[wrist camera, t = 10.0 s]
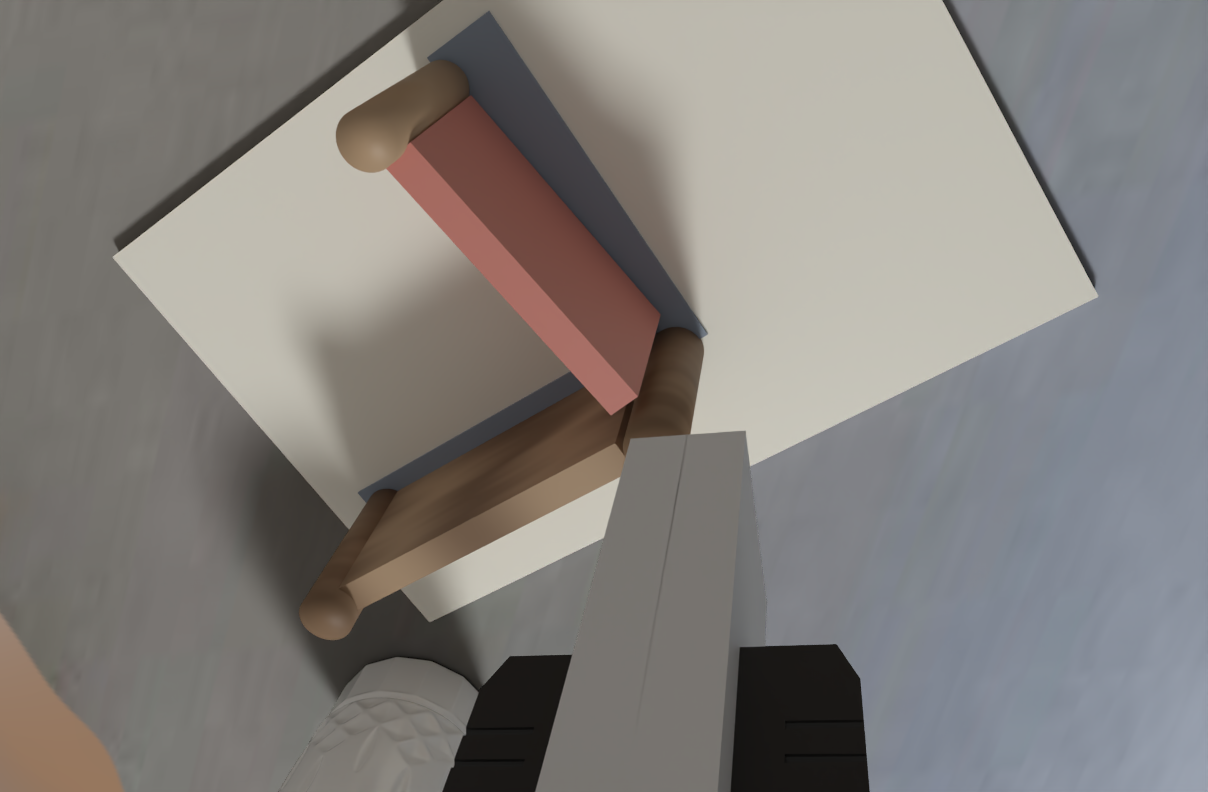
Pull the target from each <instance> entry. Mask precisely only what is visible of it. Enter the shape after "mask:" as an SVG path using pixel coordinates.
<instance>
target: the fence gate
mask: <svg viewBox="0 0 1208 792" xmlns="http://www.w3.org/2000/svg"><path fill="white" fill-rule="evenodd" d="M336 143H337V147H338V149H339V152H340V154H341V155H342V157H343V158H344V159H345V161H346V162H347V163H348V164H350V165H351V166H352V167H354V168H355V169H357V170H360V171H363V172H367V173H376V172H380V171H383V170H384V169H387V170H388V171H389V172H390V173H391V175H392V176H393V177H394V178H395V179H396V180H397V181H398V182H399V183H400V184H401V186H402V187H403V188H404V189H405V190H406V191H407V192H408V193H409V194H410V195H411V197H412V198H413V199H414V200H415V201H416V202H417V203H418V204H419V205H420V206H421V208H422V209H423V210H424V211H425V212H426V213H427V214H428V215H429V216H430V217H431V218H432V220H433V221H434V222H435V223H436V224H437V225H438V226H439V227H440V228H441V229H442V231H443V232H444V233H445V234H446V235H447V236H448V237H449V238H450V239H451V240H452V242H453V243H454V244H455V245H456V246H457V247H458V248H459V249H460V250H461V251H462V253H463V254H464V255H465V256H466V257H467V258H468V259H469V260H470V261H471V262H472V264H473V265H474V266H475V267H476V268H477V269H478V270H479V271H480V272H481V273H482V274H483V276H484V277H485V278H486V279H487V280H488V281H489V282H490V283H491V284H492V285H493V287H494V288H495V289H496V290H497V291H498V292H499V293H500V294H501V295H502V296H503V298H504V299H505V300H506V301H507V302H508V303H509V304H510V305H511V306H512V307H513V309H514V310H515V311H516V312H517V313H518V314H519V315H520V316H521V317H522V318H523V319H524V321H525V322H526V323H527V324H528V325H529V326H530V327H531V328H532V329H533V330H534V332H535V333H536V334H537V335H538V336H539V337H540V338H541V339H542V340H543V341H544V343H545V344H546V345H547V346H548V347H549V348H550V349H551V350H552V351H553V352H554V354H555V355H556V356H557V357H558V358H559V359H560V360H561V361H562V362H563V363H564V365H565V366H566V367H567V368H568V369H569V370H570V371H571V372H572V373H573V374H574V375H575V377H576V378H577V379H578V380H579V381H580V382H581V383H582V384H583V385H584V386H585V388H586V389H587V390H588V391H589V392H590V393H591V394H592V395H593V396H594V397H595V399H596V400H597V401H598V402H599V403H600V404H601V405H602V406H603V407H604V408H605V410H606V411H607V412H608V413H609V414H610V415H612V414H614V413H615V412H617V411H618V410H619V409H621V408H622V407H624V406H625V405H627V404H628V403H630V402H631V401H632V400H634V399H635V398H637V397H638V395H639V391H640V388H641V384H642V381H643V377H644V373H645V370H646V366H647V362H648V359H649V355H650V352H651V348H652V344H653V341H654V337H655V333H656V330H657V326H658V323H659V319H660V315H661V314H660V313H659V312H658V311H657V310H656V309H655V307H654V306H653V305H652V304H651V303H650V302H649V300H648V299H647V298H646V297H645V296H644V295H643V293H642V292H641V291H640V290H639V289H638V288H637V287H636V285H635V284H634V283H633V282H632V281H631V280H630V278H629V277H628V276H627V275H626V274H625V273H624V271H623V270H622V269H621V268H620V267H619V266H618V265H617V263H616V262H615V261H614V260H613V259H612V258H611V256H610V255H609V254H608V253H607V252H606V251H605V249H604V248H603V247H602V246H601V245H600V244H599V243H598V241H597V240H596V239H595V238H594V237H593V236H592V234H591V233H590V232H589V231H588V230H587V229H586V227H585V226H584V225H583V224H582V223H581V222H580V221H579V219H578V218H577V217H576V216H575V215H574V214H573V212H572V211H571V210H570V209H569V208H568V207H567V205H566V204H565V203H564V202H563V201H562V200H561V199H560V197H559V196H558V195H557V194H556V193H555V192H554V190H553V189H552V188H551V187H550V186H549V185H548V183H547V182H546V181H545V180H544V179H543V178H542V177H541V175H540V174H539V173H538V172H537V171H536V170H535V168H534V167H533V166H532V165H531V164H530V163H529V161H528V160H527V159H526V158H525V157H524V156H523V155H522V153H521V152H520V151H519V150H518V149H517V148H516V146H515V145H514V144H513V143H512V142H511V141H510V139H509V138H508V137H507V136H506V135H505V134H504V133H503V131H502V130H501V129H500V128H499V127H498V126H497V124H496V123H495V122H494V121H493V120H492V119H491V117H490V116H489V115H488V114H487V113H486V112H485V111H484V109H483V108H482V107H481V106H480V105H479V104H478V102H477V101H476V100H475V99H474V98H473V97H472V95H470V96H469V82H468V79H467V77H466V75H465V73H464V72H463V71H462V69H461V68H460V67H458V66H457V65H456V64H454V63H452V62H450V61H447V60H436V61H433V62H430V63H429V64H427V65H425V66H424V67H422V68H420V69H419V70H417V71H415V72H414V73H412V74H410V75H409V76H407V77H405V78H404V79H402V80H401V81H399V82H397V83H396V84H394V85H392V86H391V87H389V88H387V89H386V90H384V91H382V92H381V93H379V94H377V95H376V96H374V97H372V98H371V99H369V100H367V101H366V102H364V103H362V104H361V105H359V106H357V107H356V108H354V109H352V110H351V111H349V112H347V113H346V114H345V115H344V116H343V117H342V118H341V119H340V121H339V123H338V125H337V129H336Z"/></svg>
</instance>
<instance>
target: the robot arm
mask: <svg viewBox="0 0 1208 792" xmlns="http://www.w3.org/2000/svg"><path fill="white" fill-rule="evenodd" d="M766 613H767V599H766V591H765V583H764V575H763V567H762V559H761V551H760V543H759V535H758V527H757V519H756V511H755V503H754V494H753V486H752V478H751V470H750V462H749V454H748V446H747V438H746V430H745V431H732V432H718V433H704V434H690V435H676V436H662V437H648V438H634V439H630V443H629V447H628V450H627V454H626V458H625V461H624V465H623V469H622V473H621V476H620V480H619V484H618V487H617V491H616V495H615V498H614V502H613V506H612V510H611V513H610V517H609V521H608V524H607V528H606V532H605V535H604V539H603V543H602V547H601V550H600V554H599V558H598V561H597V565H596V569H595V572H594V576H593V580H592V584H591V587H590V591H589V595H588V598H587V602H586V606H585V609H584V613H583V617H582V621H581V624H580V628H579V632H578V635H577V639H576V643H575V646H574V650H573V654H572V655H545V656H510V657H509V658H508V659H507V660H506V661H505V662H504V663H503V665H502V666H501V667H500V668H499V669H498V670H497V671H496V672H495V673H494V675H493V676H492V677H491V678H490V679H489V680H488V681H487V682H486V683H485V685H484V686H483V687H482V688H481V689H480V690H479V693H478V696H477V699H476V701H475V704H474V707H473V709H472V712H471V715H470V718H469V720H468V723H467V726H466V735H463V737H462V739H461V742H460V745H459V747H458V750H457V753H456V756H455V758H454V767H451V769H450V772H449V775H448V777H447V780H446V783H445V785H444V788H443V791H442V792H870V791H869V779H868V767H867V755H866V743H865V731H864V719H863V707H862V695H861V683H860V678H859V676H858V675H857V674H856V672H855V671H854V669H853V668H852V666H851V665H850V663H849V662H848V660H847V659H846V657H845V656H844V655H843V653H842V652H841V650H840V649H839V647H838V646H837V644H832V645H796V646H765V644H766Z"/></svg>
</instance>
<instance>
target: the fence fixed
mask: <svg viewBox="0 0 1208 792" xmlns="http://www.w3.org/2000/svg"><path fill="white" fill-rule="evenodd" d="M703 357H704V346H703V343H702V340H701V339H699V338H698V336H697V335H696V334H695V333H693V332H692V331H690V330H688V329H686V328H682V327H670V328H666V329H664V330H662V331H660V332H659V333H657V334H656V335H655V337H654V341H653V344H652V348H651V352H650V355H649V359H648V362H647V366H646V370H645V373H644V377H643V381H642V384H641V388H640V391H639V395H638V397H637V398H635V399H634V400H632V401H631V402H630V403H628V404H627V405H625V406H624V407H622V408H621V409H619V410H618V411H617V412H615V413H614V414H612V415H610V414H609V413H608V412H607V411H606V410H605V408H604V407H603V406H602V405H601V404H600V403H599V402H598V401H597V400H596V399H595V397H594V396H593V395H592V394H591V393H590V392H589V391H588V390H587V389H586V388H585V387H583V388H581V389H580V390H578V391H576V392H574V393H572V394H571V395H569V396H567V397H565V398H563V399H562V400H560V401H558V402H556V403H555V404H553V405H551V406H549V407H547V408H546V409H544V410H542V411H540V412H538V413H537V414H535V415H533V416H531V417H529V418H528V419H526V420H524V421H522V422H520V423H519V424H517V425H515V426H513V427H512V428H510V429H508V430H506V431H504V432H503V433H501V434H499V435H497V436H495V437H494V438H492V439H490V440H488V441H486V442H485V443H483V444H481V445H479V446H477V447H476V448H474V449H472V450H470V451H468V452H467V453H465V454H463V455H461V456H460V457H458V458H456V459H454V460H452V461H451V462H449V463H447V464H445V465H443V466H442V467H440V468H438V469H436V470H434V471H433V472H431V473H429V474H427V475H425V476H424V477H422V478H420V479H418V480H417V481H415V482H413V483H411V484H409V485H408V486H406V487H404V488H402V489H400V490H399V491H397V490H393V489H381V490H378V491H376V492H374V493H373V494H372V495H371V497H370V498H369V500H368V501H367V503H366V505H365V506H364V508H363V509H362V511H361V512H360V514H359V515H358V517H357V518H356V520H355V522H354V523H353V525H352V526H351V528H350V529H349V531H348V532H347V534H346V536H345V537H344V539H343V540H342V542H341V543H340V545H339V546H338V548H337V549H336V551H335V553H334V554H333V556H332V557H331V559H330V560H329V562H328V563H327V565H326V567H325V568H324V570H323V571H322V573H321V574H320V576H319V577H318V579H317V581H316V582H315V584H314V585H313V587H312V588H311V590H310V591H309V593H308V594H307V596H306V598H305V599H304V601H303V602H302V604H301V606H300V608H299V616H300V620H301V622H302V624H303V625H304V626H305V628H306V629H307V630H308V631H309V632H311V633H312V634H314V635H315V636H317V637H320V638H322V639H327V640H338V639H341V638H344V637H345V636H347V635H348V634H349V633H350V631H351V629H352V628H353V626H354V624H355V622H356V620H357V619H358V617H359V615H360V613H361V611H362V610H363V608H364V607H366V606H368V605H370V604H372V603H374V602H376V601H378V600H380V599H382V598H384V597H386V596H388V595H390V594H392V593H394V592H396V591H398V590H399V589H401V588H403V587H405V586H407V585H409V584H411V583H413V582H415V581H417V580H419V579H421V578H423V577H425V576H427V575H429V574H431V573H433V572H435V571H437V570H439V569H441V568H443V567H445V566H447V565H449V564H450V563H452V562H454V561H456V560H458V559H460V558H462V557H464V556H466V555H468V554H470V553H472V552H474V551H476V550H478V549H480V548H482V547H484V546H486V545H488V544H490V543H492V542H494V541H496V540H498V539H499V538H501V537H503V536H505V535H507V534H509V533H511V532H513V531H515V530H517V529H519V528H521V527H523V526H525V525H527V524H529V523H531V522H533V521H535V520H537V519H539V518H541V517H543V516H545V515H547V514H549V513H550V512H552V511H554V510H556V509H558V508H560V507H562V506H564V505H566V504H568V503H570V502H572V501H574V500H576V499H578V498H580V497H582V496H584V495H586V494H588V493H590V492H592V491H594V490H596V489H598V488H599V487H601V486H603V485H605V484H607V483H609V482H611V481H613V480H615V479H617V478H619V477H620V476H621V473H622V469H623V465H624V461H625V458H626V454H627V450H628V447H629V443H630V439H634V438H648V437H662V436H676V435H690V434H691V428H692V422H693V416H694V410H695V404H696V398H697V392H698V386H699V381H700V375H701V369H702V363H703Z"/></svg>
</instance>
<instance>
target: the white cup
mask: <svg viewBox="0 0 1208 792" xmlns="http://www.w3.org/2000/svg"><path fill="white" fill-rule="evenodd" d="M478 693H479V692H478V691H477V690H476V689H475V688H474V687H473V686H472V685H471V684H470V683H469V682H468V681H467V680H466V679H465V678H464V677H463V676H461V675H459V674H457V673H455V672H453V671H451V670H449V669H447V668H445V667H443V666H441V665H439V664H437V663H435V662H432V661H427V660H419V659H411V658H403V657H394V658H390V659H387V660H383V661H379V662H376V663H372V664H368V665H366V666H365V667H364V668H363V669H362V670H361V671H360V672H359V673H358V674H357V675H356V676H355V677H354V678H353V679H352V680H351V681H350V682H349V683H348V684H347V685H346V686H345V688H344V690H343V691H342V693H341V695H340V696H339V698H338V700H337V701H336V703H335V705H334V707H333V708H332V710H331V712H330V713H329V715H328V716H327V717H326V718H325V719H324V721H323V722H322V723H321V725H320V726H319V728H318V729H317V730H316V732H315V734H314V735H313V737H312V738H311V740H310V741H309V743H308V745H307V747H306V748H305V750H304V751H303V753H302V754H301V755H300V757H299V758H298V760H297V761H296V763H295V764H294V766H293V768H292V769H291V771H290V772H289V774H288V776H287V777H286V779H285V781H284V782H283V784H282V786H281V787H280V789H279V791H278V792H442V791H443V788H444V785H445V783H446V780H447V777H448V775H449V772H450V769H451V767H454V758H455V756H456V753H457V750H458V747H459V745H460V742H461V739H462V737H463V735H466V726H467V723H468V720H469V718H470V715H471V712H472V709H473V707H474V704H475V701H476V699H477V696H478Z"/></svg>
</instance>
